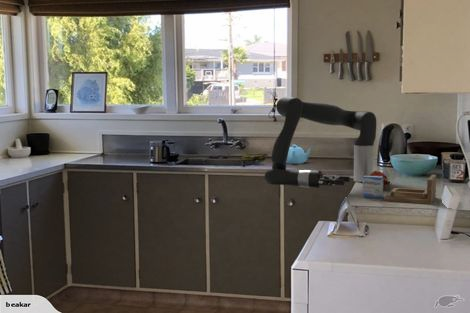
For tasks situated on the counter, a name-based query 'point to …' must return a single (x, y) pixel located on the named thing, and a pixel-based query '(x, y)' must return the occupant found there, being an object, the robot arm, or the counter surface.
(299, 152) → the teapot
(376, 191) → the medicine box
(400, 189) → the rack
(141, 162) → the counter surface
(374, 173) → the dragon fruit
